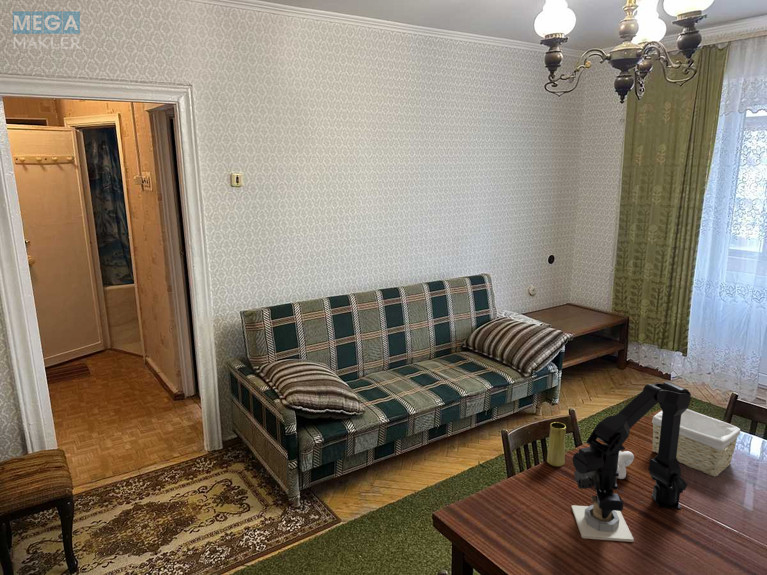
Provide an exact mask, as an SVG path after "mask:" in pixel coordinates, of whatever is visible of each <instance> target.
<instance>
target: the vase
mask: <svg viewBox="0 0 767 575" xmlns="http://www.w3.org/2000/svg"><path fill="white" fill-rule="evenodd" d="M566 433H567V426H566V424H565V423H562V422H559V421H554V422H551V423H550V425H549V436H548V438H549V439H548V449H547V456H546V457H547V458H546V462H547V463H548V464H549V465H551V466H553V467H562V466H564V465H565V464H566V463H565V457H566V456H565V455H566V435H567V434H566Z"/></svg>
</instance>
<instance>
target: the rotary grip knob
mask: <svg viewBox="0 0 767 575" xmlns="http://www.w3.org/2000/svg"><path fill="white" fill-rule="evenodd" d="M590 495H591V494H590ZM596 497H597V495H594V494H593V495H591V496H590V498H591V502H592V503H593V504H592V505H593V517H594V518H595V519H597V520H599V521H604V522H609V521H610V520H611V513H612V512H611V513H610V514H609V516H608V517H607V518H602V513H601V508H599V506H598V503H597V500H596Z"/></svg>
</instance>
